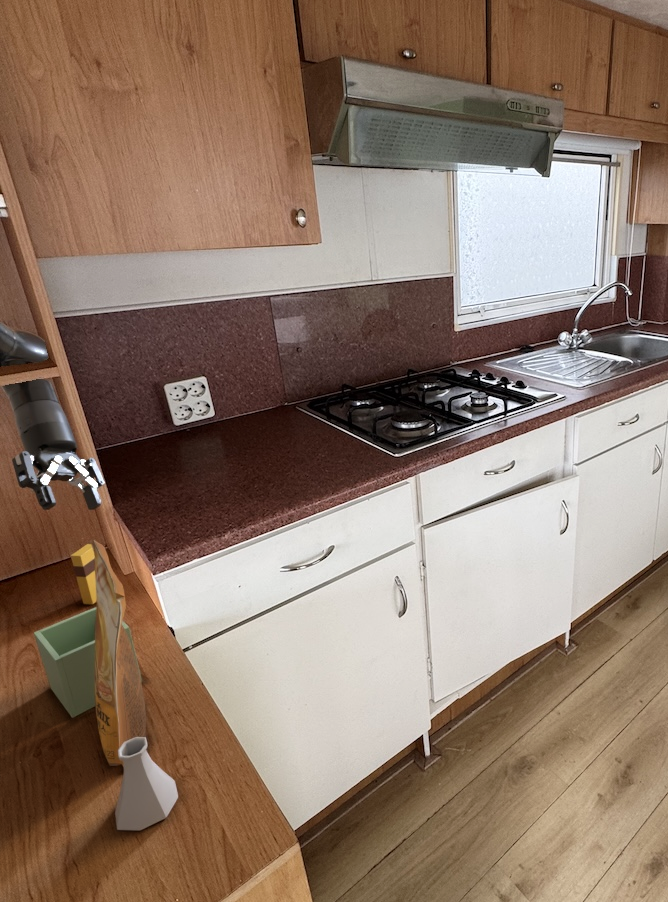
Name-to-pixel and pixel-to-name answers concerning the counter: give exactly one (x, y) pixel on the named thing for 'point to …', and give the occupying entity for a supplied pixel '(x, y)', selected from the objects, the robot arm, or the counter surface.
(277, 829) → the counter surface
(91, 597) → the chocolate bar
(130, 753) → the flask
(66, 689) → the trash can
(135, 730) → the pancake mix bag
